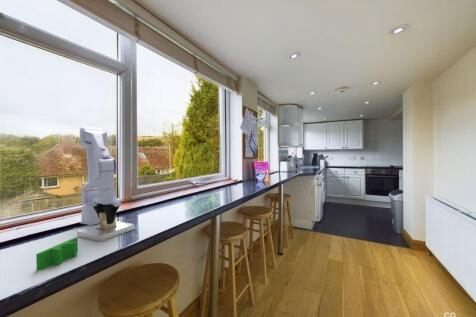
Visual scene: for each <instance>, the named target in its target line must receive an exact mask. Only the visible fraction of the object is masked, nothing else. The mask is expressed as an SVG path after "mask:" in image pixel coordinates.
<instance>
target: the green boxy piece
mask: <svg viewBox="0 0 476 317" xmlns="http://www.w3.org/2000/svg"><path fill="white" fill-rule="evenodd" d="M78 241H79V240H78V237H73V238H70V239H69V240H66V241H63V242H61V243H59V244H57V245H55V246H52V247H49V248H47V249H45V250H43V251H40V252H38V253H36V255H35V262H36V271H42V270H44V269H46V268H48V267H50V266H53V265H54V266H61V265H63V264H62V263H64V262H63V261H64V260H66V259H67V260H68V259H71V258H76V257H77V253H78V251H79V250H78V249H79V248H78V247H79V246H78V245H79V242H78ZM60 264H61V265H60Z"/></svg>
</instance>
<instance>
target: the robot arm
mask: <svg viewBox="0 0 476 317" xmlns="http://www.w3.org/2000/svg"><path fill="white" fill-rule="evenodd" d="M107 138H108V132H107V129H106V128H99V127H98V128H96V127H86V126H85V127H84V126H81V127H80V129H79V143H80V146H81V147H83V148H85V151H86V160H87V162H86V164H87V178H88V179H87V183H85V184H84V185H82V187H81V191H80V193H81V194H80V200H81V203H82V204H83V205H82V207H81V216H80V217H81V221H82V222H81V221H79V222H80V223H79V224H82V225H89V226H95V225H99V224H100V223H99V213H102V212H105V214H106V220H107V224H112V223H113V222H114V219H115V215H116V214H117V212H118V211H119V209H120V207H121V206H122V201H121V200H119V199H118V198H117V197H115V194H116V192H115V173H116V172H117V171H116V170H117V162H116V159H115V158H114V157H113V156H111V153H110V150H109V148H108V147H107V146H105V143H106V141H107ZM116 216H117V215H116Z"/></svg>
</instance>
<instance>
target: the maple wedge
mask: <svg viewBox="0 0 476 317" xmlns="http://www.w3.org/2000/svg"><path fill="white" fill-rule="evenodd" d="M116 221H117V215H115V219H114V222H113V223H112V224H107V220H106V214H105V212H102V213H99V223H98V224H100V228H101V229H109V228H112V227H116Z"/></svg>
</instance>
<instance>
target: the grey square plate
mask: <svg viewBox="0 0 476 317" xmlns="http://www.w3.org/2000/svg"><path fill="white" fill-rule="evenodd" d="M133 230H135V224H134V223H129V222H122V221H117V220H116V227H112V228H109V229H101V228H100V223H98V224H95V225H91V226H90V227H86V228H83V229H79V230H77V231H76V237H77V238H78V237H79V238H83V239H88V240H91V241H95V242H100V243H101V242H103V241H106V240H109V239H112V238H114V237H117V236H119V235H123V234H125V233H128V232H131V231H133Z"/></svg>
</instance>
